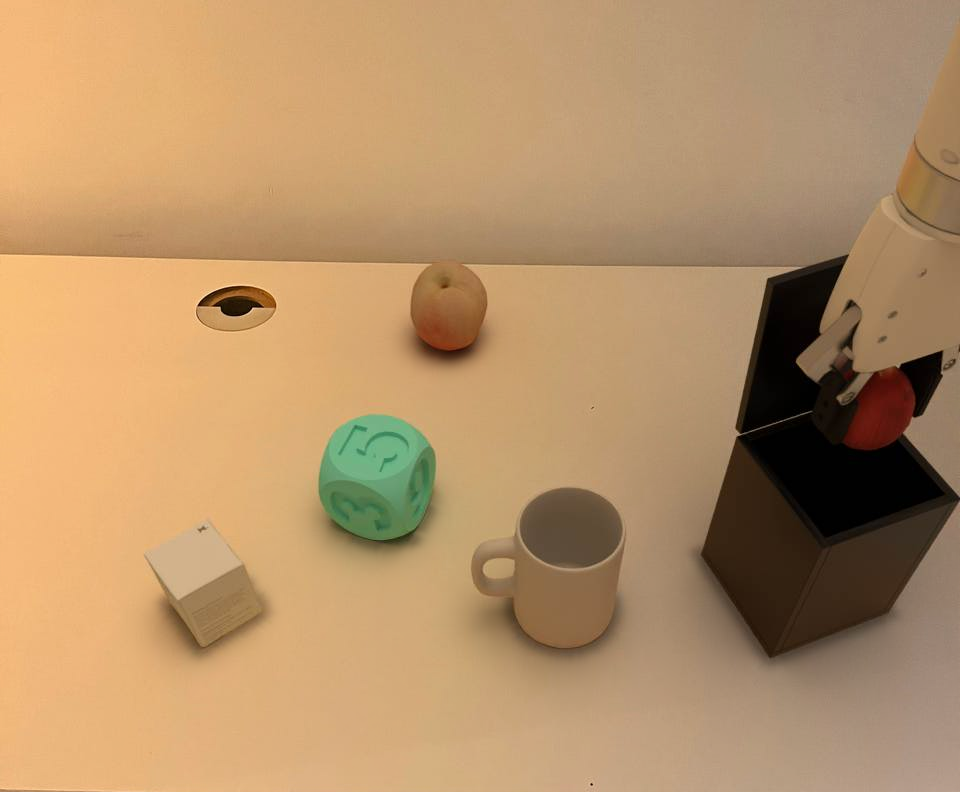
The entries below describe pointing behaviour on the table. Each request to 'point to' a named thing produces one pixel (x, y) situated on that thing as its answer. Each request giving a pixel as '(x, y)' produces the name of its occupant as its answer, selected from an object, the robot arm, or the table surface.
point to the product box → (204, 582)
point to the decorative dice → (377, 476)
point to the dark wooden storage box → (820, 530)
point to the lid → (786, 345)
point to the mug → (559, 565)
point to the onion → (881, 410)
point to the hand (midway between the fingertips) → (866, 415)
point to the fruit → (448, 305)
